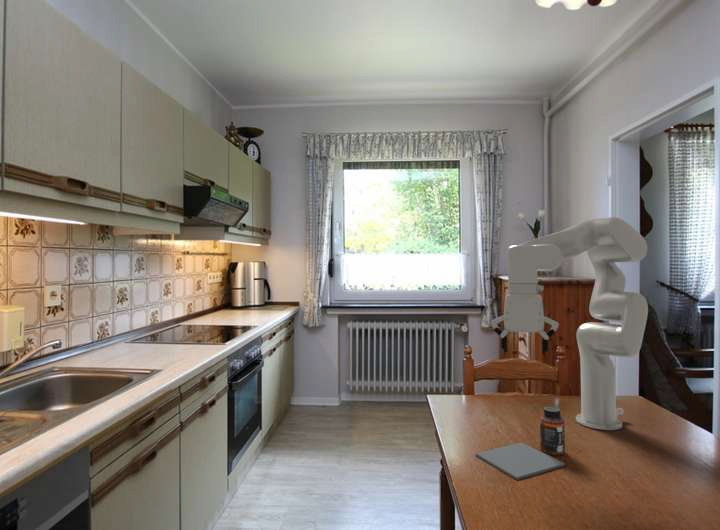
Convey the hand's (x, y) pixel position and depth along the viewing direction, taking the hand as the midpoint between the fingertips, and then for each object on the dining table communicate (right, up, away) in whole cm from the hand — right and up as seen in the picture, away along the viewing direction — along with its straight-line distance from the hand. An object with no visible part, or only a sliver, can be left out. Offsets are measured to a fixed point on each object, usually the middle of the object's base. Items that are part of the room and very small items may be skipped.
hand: (524, 352), depth 113 cm
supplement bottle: (+6, -26, -3) cm, 27 cm away
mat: (-4, -26, -8) cm, 27 cm away
